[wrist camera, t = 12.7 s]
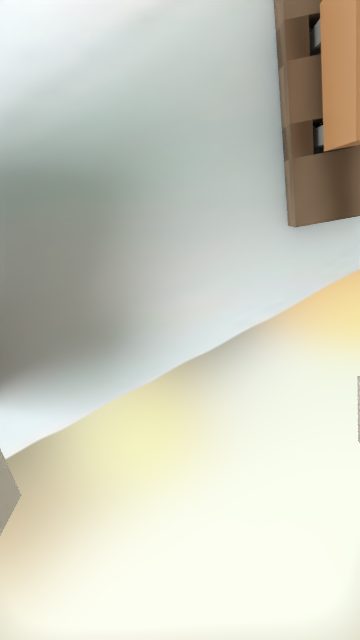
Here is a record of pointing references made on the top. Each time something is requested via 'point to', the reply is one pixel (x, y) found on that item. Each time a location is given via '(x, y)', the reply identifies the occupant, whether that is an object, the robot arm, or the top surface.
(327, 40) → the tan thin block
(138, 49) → the top surface
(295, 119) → the rail
